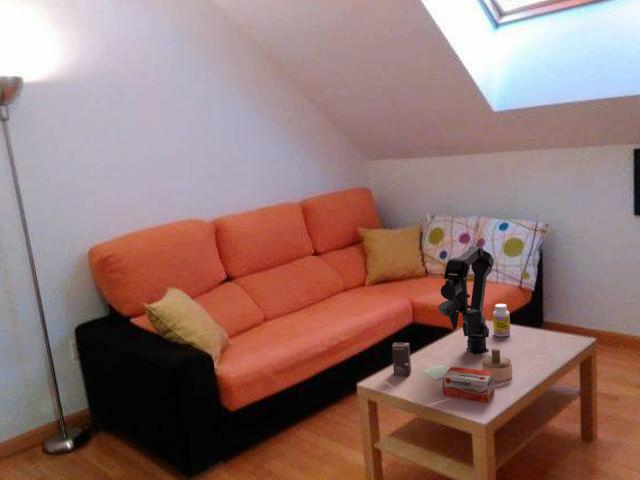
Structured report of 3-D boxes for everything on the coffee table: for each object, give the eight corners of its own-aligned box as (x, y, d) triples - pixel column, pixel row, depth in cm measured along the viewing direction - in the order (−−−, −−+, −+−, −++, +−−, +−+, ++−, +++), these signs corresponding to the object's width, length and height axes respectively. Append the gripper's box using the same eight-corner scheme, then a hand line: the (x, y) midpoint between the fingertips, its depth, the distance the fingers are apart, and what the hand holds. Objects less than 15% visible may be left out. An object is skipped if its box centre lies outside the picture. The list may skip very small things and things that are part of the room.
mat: (443, 365, 223) (443, 364, 223) (458, 374, 214) (458, 373, 214) (420, 371, 220) (420, 370, 220) (435, 380, 211) (435, 379, 211)
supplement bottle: (494, 337, 247) (493, 308, 244) (493, 332, 253) (491, 303, 251) (511, 336, 245) (510, 307, 243) (509, 331, 252) (507, 302, 250)
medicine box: (443, 397, 198) (441, 375, 196) (451, 387, 204) (450, 365, 203) (488, 404, 190) (487, 381, 188) (495, 393, 196) (494, 371, 195)
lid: (498, 355, 214) (498, 343, 214) (516, 364, 205) (515, 351, 205) (476, 361, 211) (476, 348, 210) (493, 370, 202) (492, 357, 201)
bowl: (499, 368, 215) (499, 355, 215) (518, 377, 206) (517, 364, 205) (476, 374, 212) (476, 361, 211) (494, 384, 203) (493, 370, 202)
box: (393, 377, 217) (391, 346, 215) (396, 372, 222) (393, 341, 219) (410, 377, 215) (407, 346, 213) (412, 372, 220) (409, 342, 218)
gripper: (427, 290, 224) (430, 330, 227) (455, 301, 207) (457, 344, 209) (452, 285, 228) (454, 324, 230) (481, 295, 211) (484, 337, 213)
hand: (461, 332), depth 221 cm, fingers open, 9 cm apart
